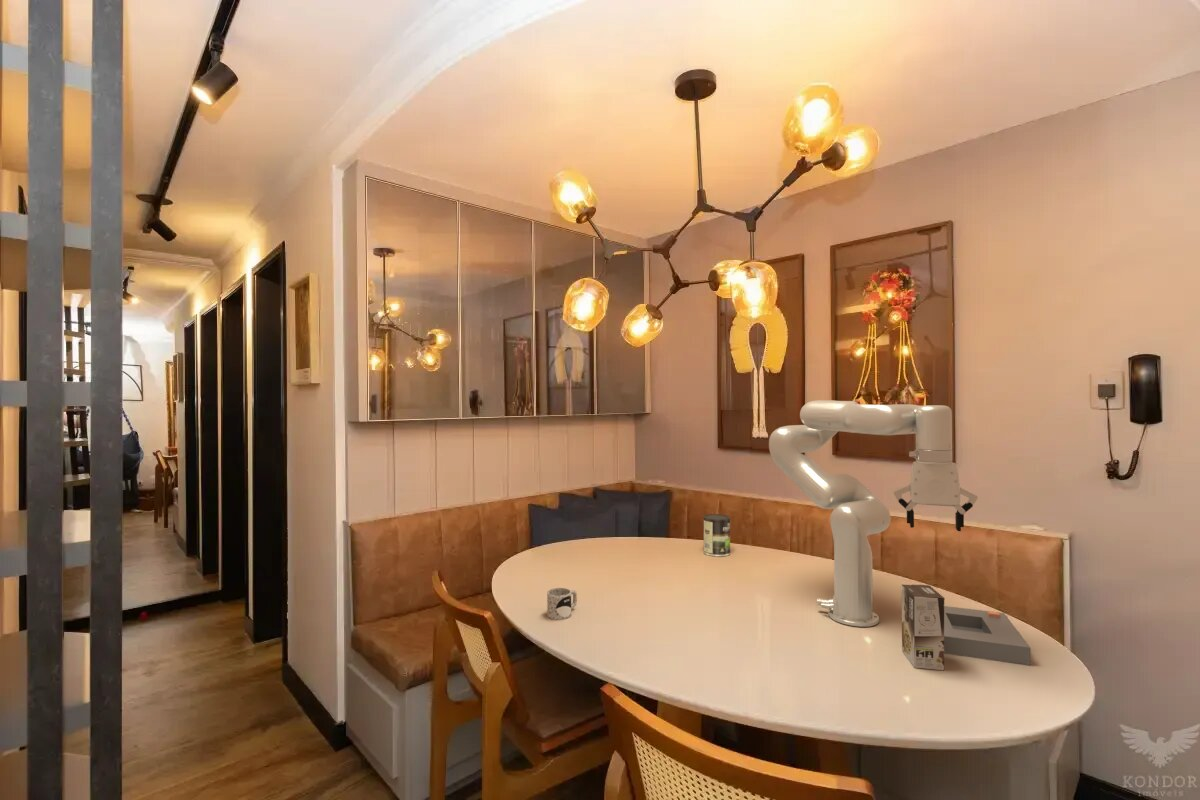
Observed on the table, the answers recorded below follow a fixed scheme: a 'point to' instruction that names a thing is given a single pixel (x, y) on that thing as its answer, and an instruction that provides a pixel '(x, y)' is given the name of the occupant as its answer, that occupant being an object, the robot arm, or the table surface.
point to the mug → (560, 603)
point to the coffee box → (923, 626)
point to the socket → (983, 636)
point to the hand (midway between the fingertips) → (934, 528)
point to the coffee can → (716, 535)
